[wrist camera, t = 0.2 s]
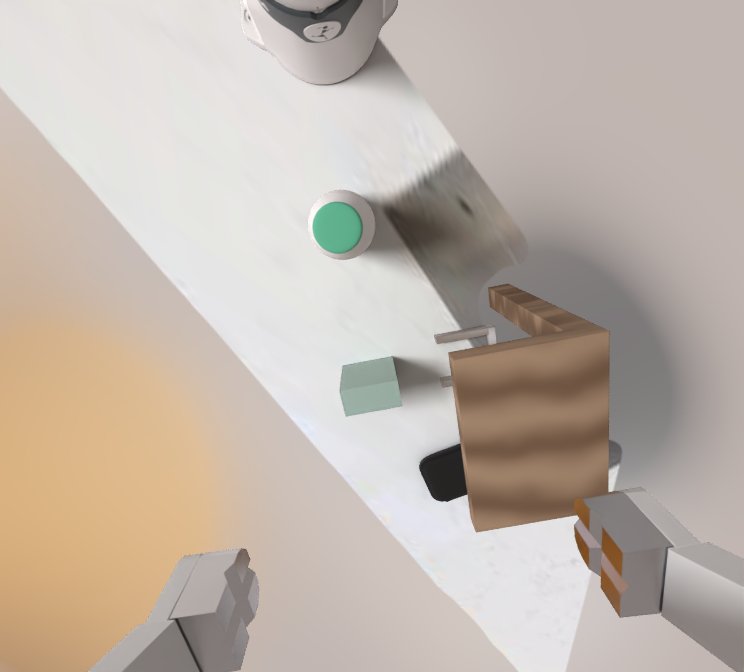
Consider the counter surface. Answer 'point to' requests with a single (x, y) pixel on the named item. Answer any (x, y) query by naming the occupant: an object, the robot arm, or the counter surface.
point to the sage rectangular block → (369, 386)
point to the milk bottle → (341, 224)
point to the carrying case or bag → (445, 474)
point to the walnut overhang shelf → (531, 412)
